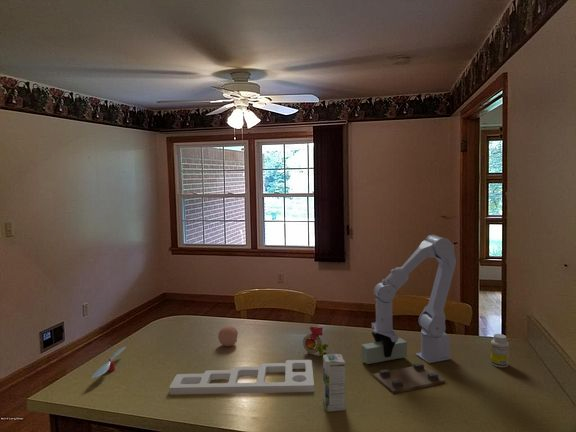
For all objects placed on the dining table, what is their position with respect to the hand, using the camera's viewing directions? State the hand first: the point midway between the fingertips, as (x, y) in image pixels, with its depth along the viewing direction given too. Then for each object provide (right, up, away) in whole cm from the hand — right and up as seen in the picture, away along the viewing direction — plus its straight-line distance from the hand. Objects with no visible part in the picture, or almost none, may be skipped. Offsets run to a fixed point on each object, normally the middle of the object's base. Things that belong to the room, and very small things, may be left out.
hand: (384, 354), depth 150 cm
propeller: (-97, -5, -2) cm, 97 cm away
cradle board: (+5, -4, -14) cm, 15 cm away
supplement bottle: (+39, -2, -5) cm, 39 cm away
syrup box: (-21, -6, -29) cm, 36 cm away
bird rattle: (-24, -3, +7) cm, 25 cm away
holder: (-49, -5, -11) cm, 50 cm away
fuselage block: (0, -2, 0) cm, 2 cm away
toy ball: (-58, -2, +17) cm, 61 cm away
